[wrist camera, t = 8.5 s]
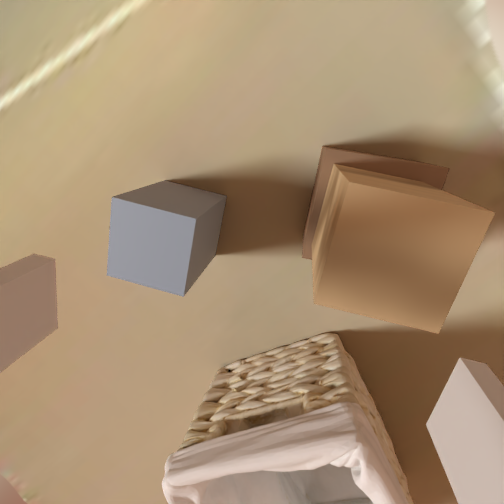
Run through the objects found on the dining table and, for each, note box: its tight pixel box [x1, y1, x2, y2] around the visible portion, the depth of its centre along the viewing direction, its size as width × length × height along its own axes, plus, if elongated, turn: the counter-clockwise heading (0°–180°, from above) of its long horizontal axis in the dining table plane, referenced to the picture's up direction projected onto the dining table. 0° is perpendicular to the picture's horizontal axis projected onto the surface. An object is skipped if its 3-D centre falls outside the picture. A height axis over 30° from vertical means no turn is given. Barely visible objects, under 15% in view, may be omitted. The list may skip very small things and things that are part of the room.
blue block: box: [107, 180, 227, 297], centre depth 27 cm, size 6×6×9 cm
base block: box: [302, 146, 449, 260], centre depth 26 cm, size 8×8×6 cm
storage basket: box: [162, 333, 414, 504], centre depth 30 cm, size 24×16×15 cm
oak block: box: [312, 164, 495, 334], centre depth 19 cm, size 6×6×9 cm
